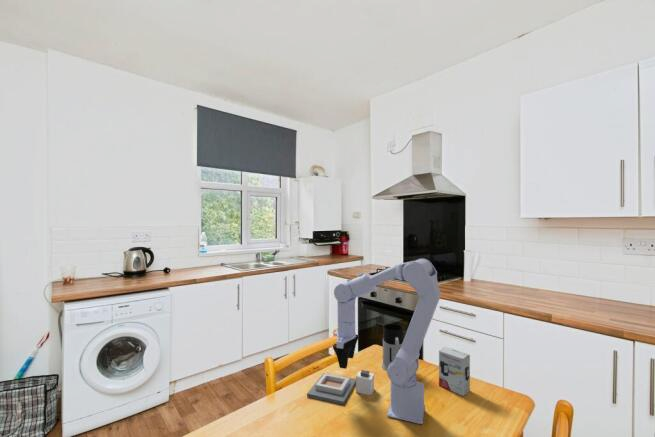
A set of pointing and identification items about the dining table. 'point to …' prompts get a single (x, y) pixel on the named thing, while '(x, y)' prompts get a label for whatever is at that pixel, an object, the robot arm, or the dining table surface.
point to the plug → (365, 382)
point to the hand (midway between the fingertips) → (346, 362)
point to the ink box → (454, 370)
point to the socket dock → (332, 388)
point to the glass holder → (391, 343)
